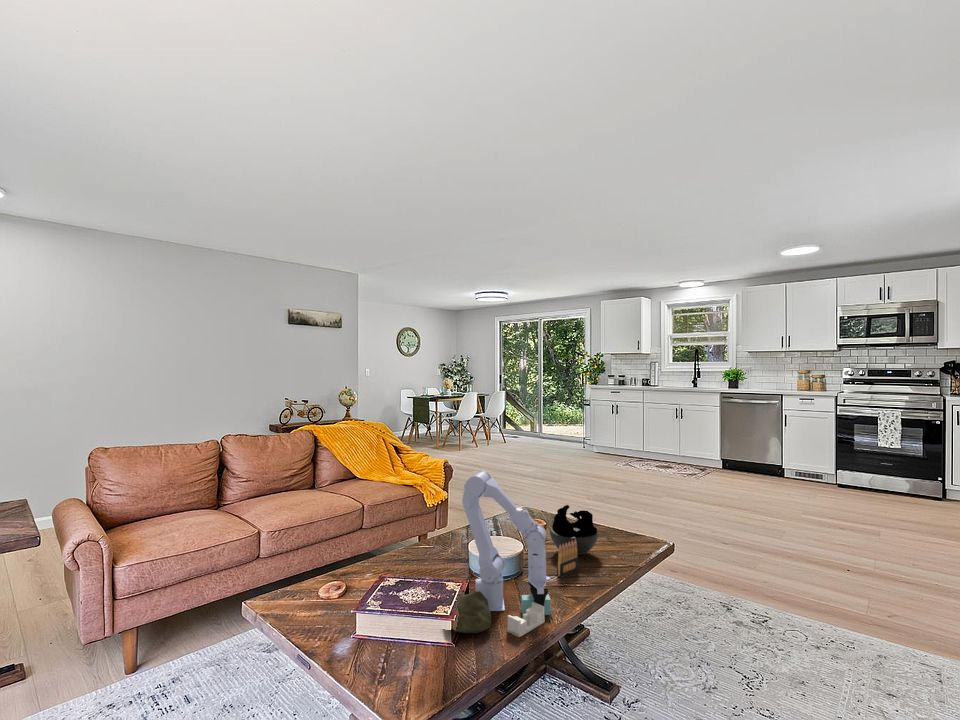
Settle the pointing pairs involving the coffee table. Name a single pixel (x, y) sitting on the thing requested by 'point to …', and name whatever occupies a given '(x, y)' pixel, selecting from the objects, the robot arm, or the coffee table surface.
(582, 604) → the coffee table surface
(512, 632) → the stand
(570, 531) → the coal bowl
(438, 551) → the coffee table surface
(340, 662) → the coffee table surface
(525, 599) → the teal block
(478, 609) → the decorative rock
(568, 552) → the ammunition clip
